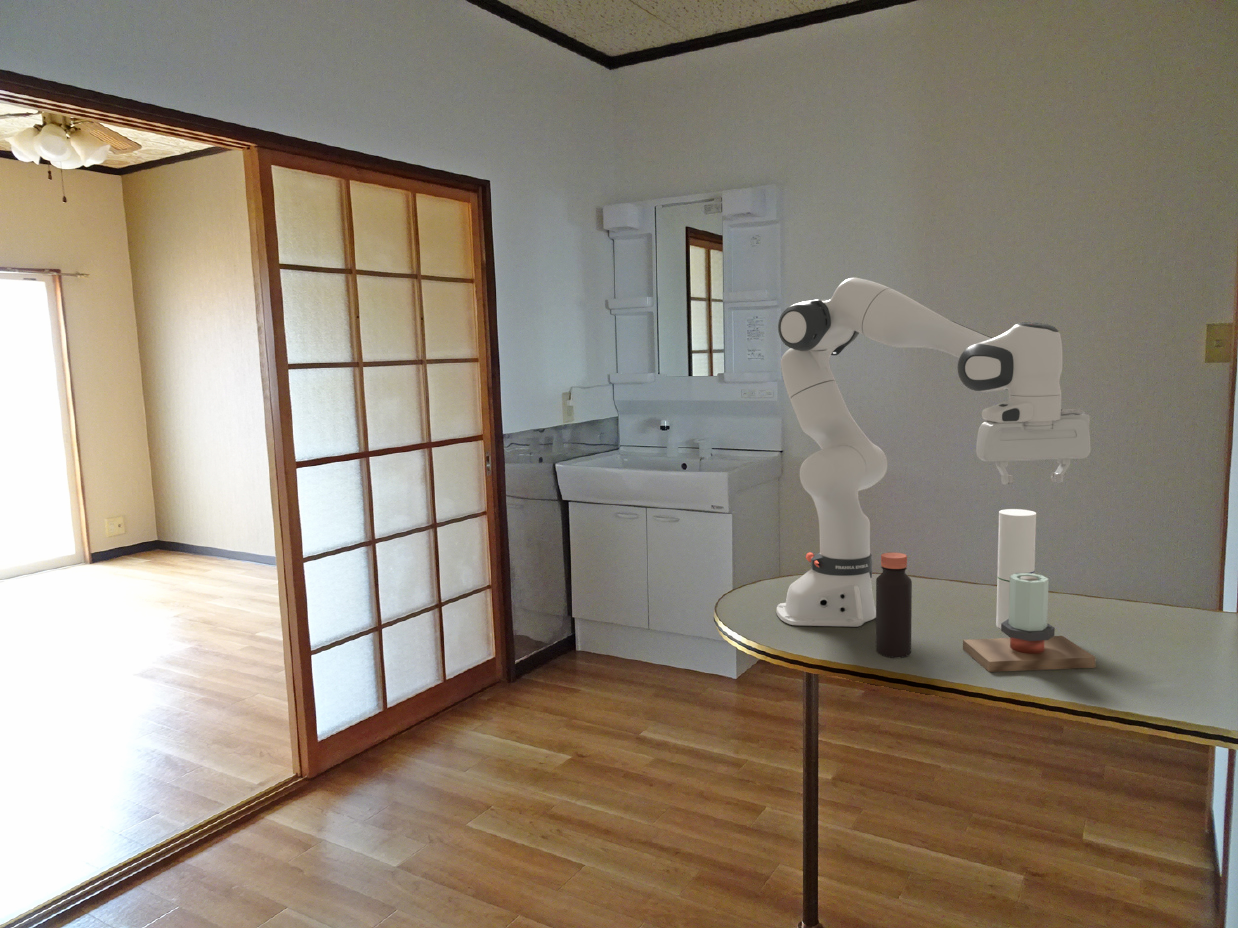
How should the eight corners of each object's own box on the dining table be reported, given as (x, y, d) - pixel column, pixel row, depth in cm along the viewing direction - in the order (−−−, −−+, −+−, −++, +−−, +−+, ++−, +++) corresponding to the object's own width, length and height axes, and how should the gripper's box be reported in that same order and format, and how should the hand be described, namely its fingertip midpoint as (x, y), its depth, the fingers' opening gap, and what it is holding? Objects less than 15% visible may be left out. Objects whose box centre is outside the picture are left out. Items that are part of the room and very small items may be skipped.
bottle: (899, 644, 177) (900, 549, 174) (917, 656, 171) (918, 557, 168) (869, 648, 176) (869, 552, 173) (886, 659, 169) (887, 560, 166)
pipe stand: (988, 671, 161) (990, 589, 159) (962, 649, 173) (964, 571, 171) (1095, 667, 162) (1098, 584, 159) (1061, 645, 173) (1064, 567, 171)
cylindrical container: (1036, 632, 181) (1040, 515, 178) (1000, 631, 183) (1003, 515, 179) (1027, 621, 188) (1031, 509, 185) (992, 620, 190) (995, 509, 186)
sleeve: (1019, 631, 163) (1020, 582, 162) (1004, 620, 170) (1005, 573, 168) (1051, 630, 164) (1053, 581, 162) (1035, 619, 170) (1037, 572, 168)
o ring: (1015, 641, 162) (1015, 633, 162) (995, 626, 171) (995, 619, 171) (1061, 639, 163) (1061, 631, 162) (1038, 624, 171) (1038, 617, 171)
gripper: (1080, 406, 164) (1077, 478, 166) (973, 410, 164) (971, 482, 166) (1099, 409, 158) (1096, 484, 160) (987, 413, 157) (986, 488, 159)
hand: (1032, 483), depth 163 cm, fingers open, 8 cm apart
